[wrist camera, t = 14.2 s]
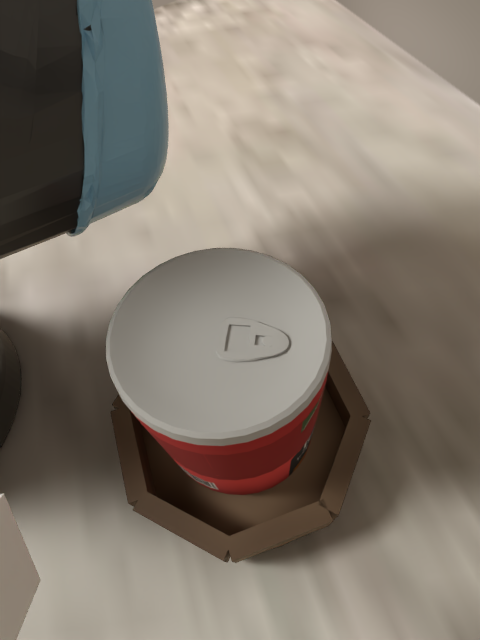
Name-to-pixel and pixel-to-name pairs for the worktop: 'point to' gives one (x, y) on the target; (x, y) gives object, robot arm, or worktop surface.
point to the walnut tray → (257, 508)
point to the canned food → (223, 364)
